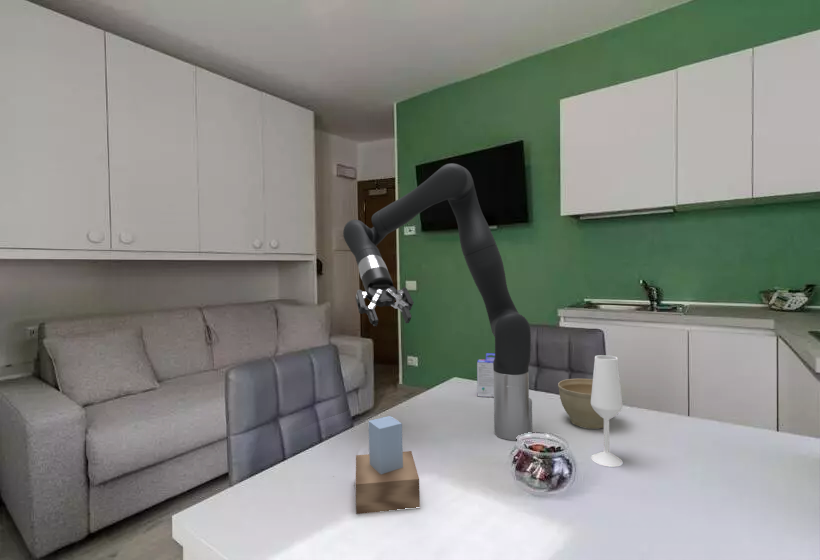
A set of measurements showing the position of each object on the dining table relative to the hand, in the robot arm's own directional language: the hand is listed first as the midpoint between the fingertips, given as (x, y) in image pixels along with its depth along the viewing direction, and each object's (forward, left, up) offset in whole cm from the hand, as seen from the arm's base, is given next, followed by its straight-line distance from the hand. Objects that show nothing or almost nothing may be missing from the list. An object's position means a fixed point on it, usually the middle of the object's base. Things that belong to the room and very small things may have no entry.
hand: (392, 322), depth 102 cm
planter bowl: (-56, +8, -32) cm, 65 cm away
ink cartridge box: (-47, -26, -32) cm, 63 cm away
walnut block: (+9, +17, -33) cm, 38 cm away
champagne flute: (-42, +26, -32) cm, 59 cm away
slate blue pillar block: (+9, +16, -27) cm, 32 cm away
